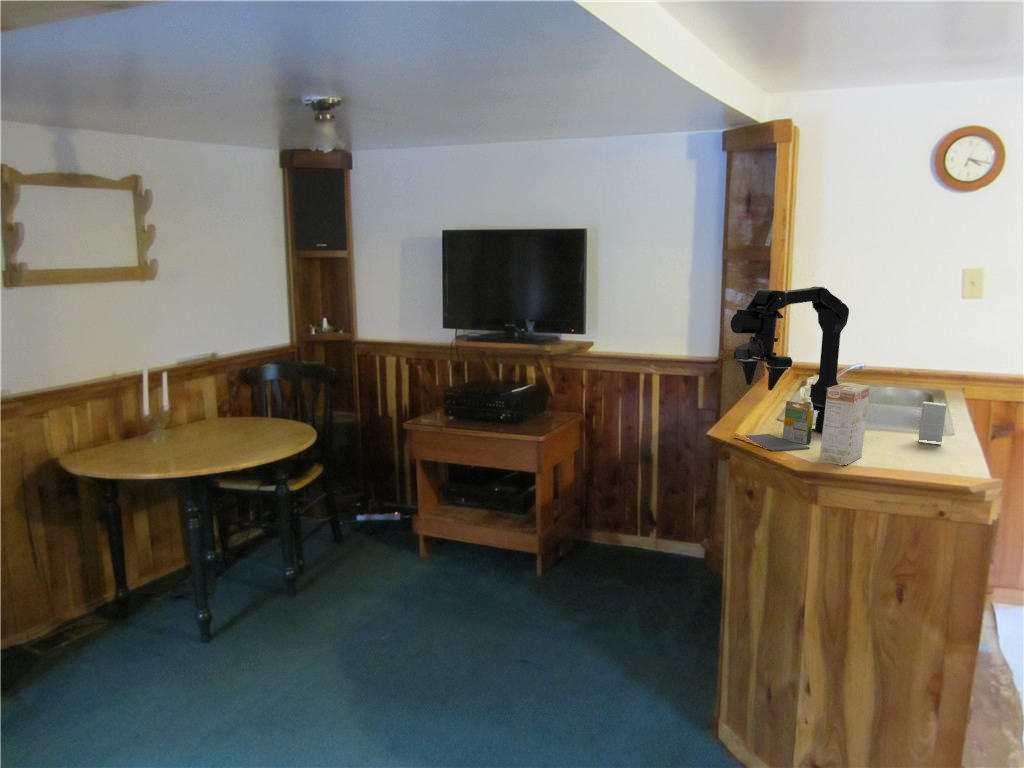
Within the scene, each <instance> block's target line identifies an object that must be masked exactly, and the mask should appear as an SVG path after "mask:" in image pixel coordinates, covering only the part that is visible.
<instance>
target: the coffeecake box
mask: <svg viewBox="0 0 1024 768" xmlns="http://www.w3.org/2000/svg"><path fill="white" fill-rule="evenodd" d="M870 390H871V385H866V384H859V383H854V382H842V383H838V385H835V386H832V387H829V388H827V396H826V405H825V415H824V424H823V432H822V433H821V435H822V436H821V443H820V450H819V459H818V461H819V462H821V463H825V462H826V464H831V463H833V464H832V465H836V464H841V465H847V464H848V465H850V464H851V463H853V462H855V461H857V460H859V459H860V458H861V457H862V456H863V446H864V441H865V432H866V431H865V430H866V424H867V414H868V408H869V407H868V406H869V399H870V398H869V397H870ZM841 465H840V466H841ZM848 465H847V466H848Z"/></svg>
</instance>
